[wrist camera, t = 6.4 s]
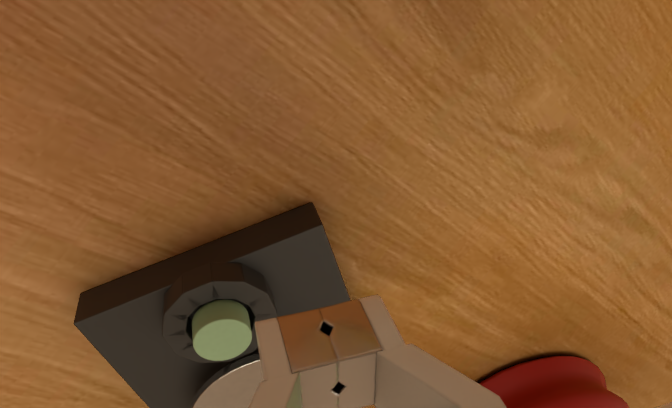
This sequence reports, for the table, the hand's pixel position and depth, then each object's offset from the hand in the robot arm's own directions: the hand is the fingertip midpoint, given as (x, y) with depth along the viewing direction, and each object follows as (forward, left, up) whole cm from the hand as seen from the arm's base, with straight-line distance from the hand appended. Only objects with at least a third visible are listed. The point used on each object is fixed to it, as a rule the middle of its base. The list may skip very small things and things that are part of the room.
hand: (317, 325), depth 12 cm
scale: (+9, -13, -16) cm, 23 cm away
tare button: (+5, -10, -12) cm, 16 cm away
